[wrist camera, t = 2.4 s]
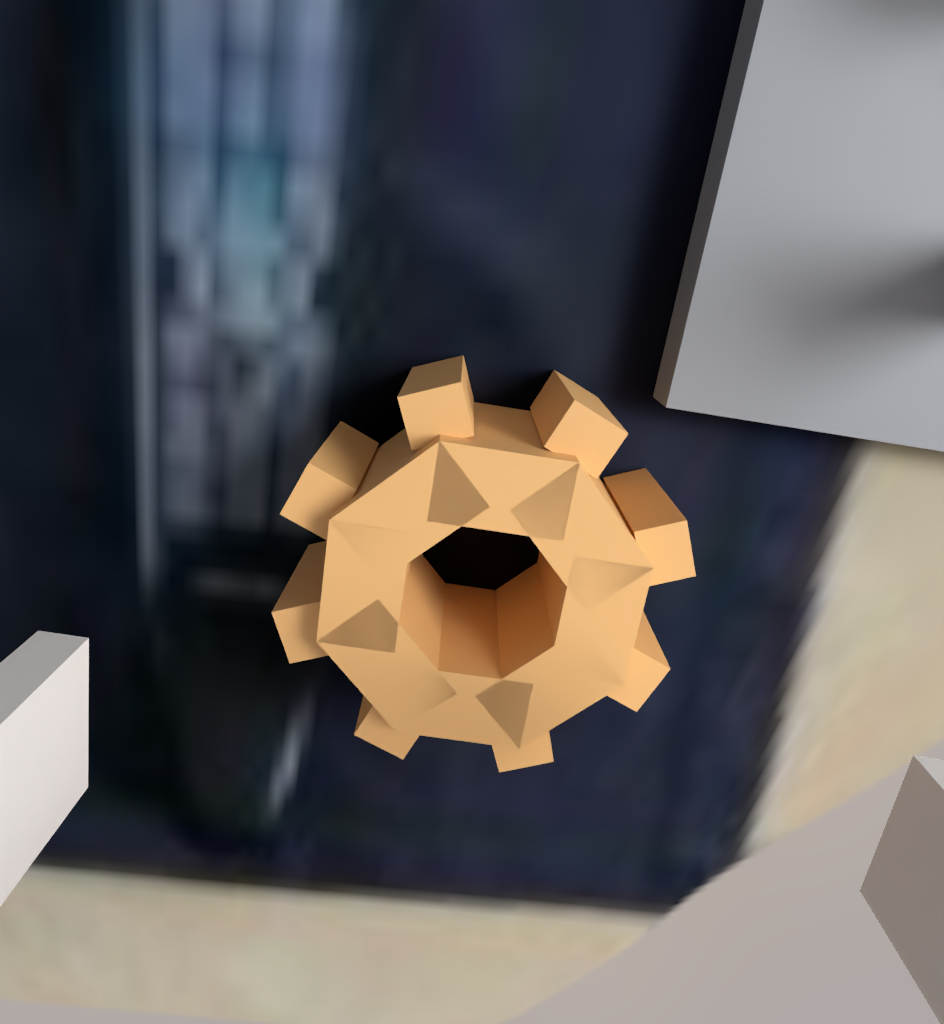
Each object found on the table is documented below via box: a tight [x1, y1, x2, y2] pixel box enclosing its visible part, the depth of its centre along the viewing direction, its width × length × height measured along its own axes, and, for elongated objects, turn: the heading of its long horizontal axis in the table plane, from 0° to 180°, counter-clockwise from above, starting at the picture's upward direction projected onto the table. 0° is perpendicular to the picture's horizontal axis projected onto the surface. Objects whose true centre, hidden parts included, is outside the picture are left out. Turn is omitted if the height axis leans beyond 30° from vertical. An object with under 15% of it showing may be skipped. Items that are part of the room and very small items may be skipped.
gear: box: [271, 355, 696, 772], centre depth 20 cm, size 10×10×5 cm
